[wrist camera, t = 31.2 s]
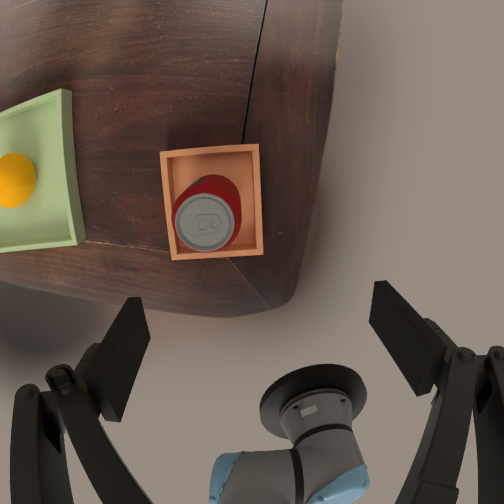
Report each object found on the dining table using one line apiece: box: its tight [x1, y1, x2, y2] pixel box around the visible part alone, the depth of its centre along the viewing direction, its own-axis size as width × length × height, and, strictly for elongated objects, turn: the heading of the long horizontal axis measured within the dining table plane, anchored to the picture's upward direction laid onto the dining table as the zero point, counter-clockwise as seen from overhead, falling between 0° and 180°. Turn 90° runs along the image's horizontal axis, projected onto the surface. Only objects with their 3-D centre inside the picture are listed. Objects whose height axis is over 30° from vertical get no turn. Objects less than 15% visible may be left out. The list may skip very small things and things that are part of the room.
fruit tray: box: [0, 89, 86, 253], centre depth 34 cm, size 22×20×3 cm
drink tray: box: [160, 144, 263, 260], centre depth 37 cm, size 14×12×3 cm
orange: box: [0, 153, 36, 208], centre depth 31 cm, size 8×8×8 cm
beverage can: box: [171, 174, 242, 253], centre depth 33 cm, size 7×7×12 cm
